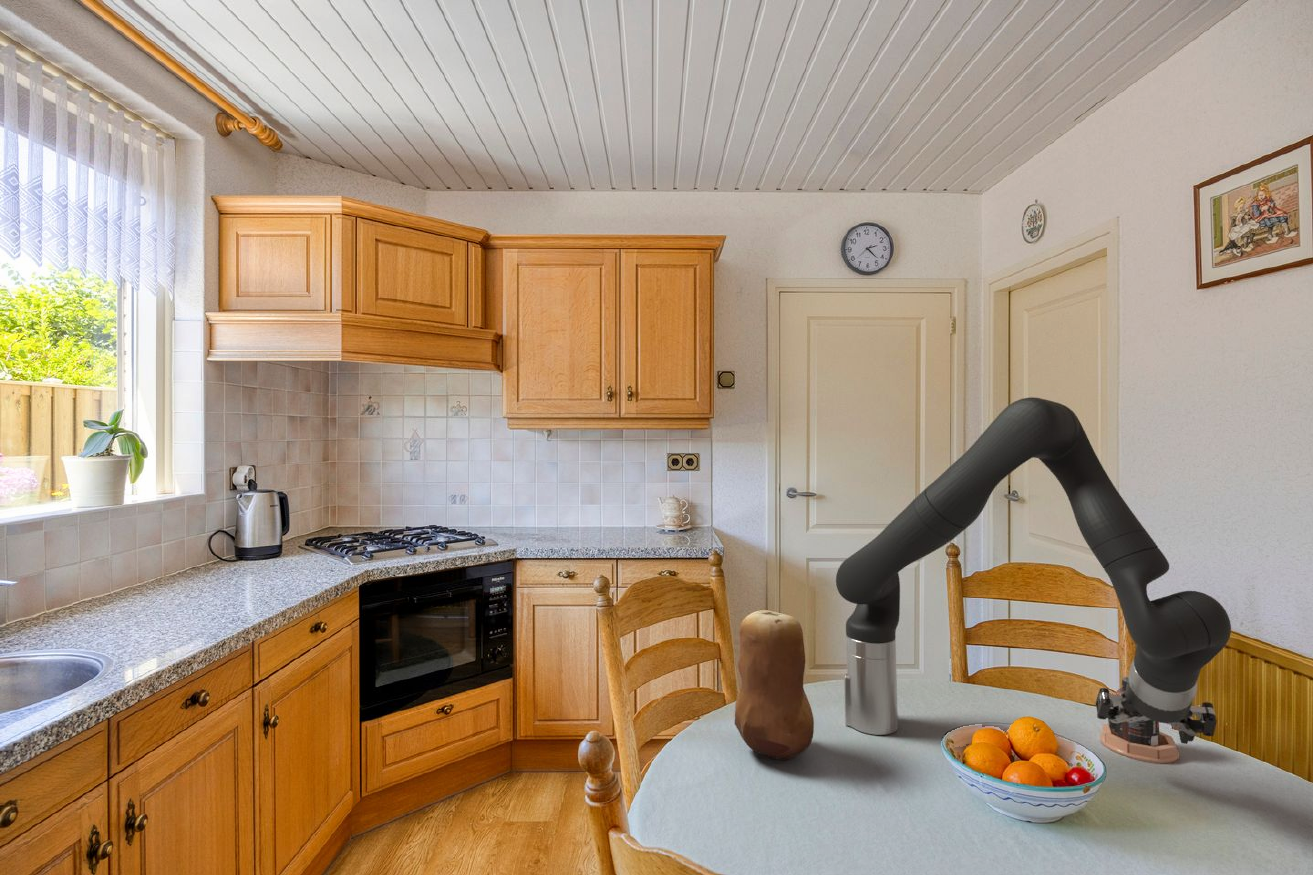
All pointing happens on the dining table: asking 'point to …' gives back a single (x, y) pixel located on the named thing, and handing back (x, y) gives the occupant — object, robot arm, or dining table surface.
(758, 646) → the butternut squash
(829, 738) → the dining table surface
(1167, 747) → the coaster dish
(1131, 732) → the supplement bottle
